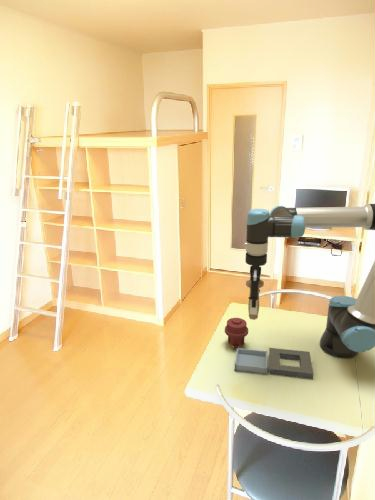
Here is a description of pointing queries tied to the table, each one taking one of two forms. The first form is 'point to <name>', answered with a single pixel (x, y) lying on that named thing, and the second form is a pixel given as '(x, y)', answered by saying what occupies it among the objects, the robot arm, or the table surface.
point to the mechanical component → (236, 331)
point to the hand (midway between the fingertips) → (253, 310)
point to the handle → (248, 284)
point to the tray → (251, 361)
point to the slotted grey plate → (290, 371)
